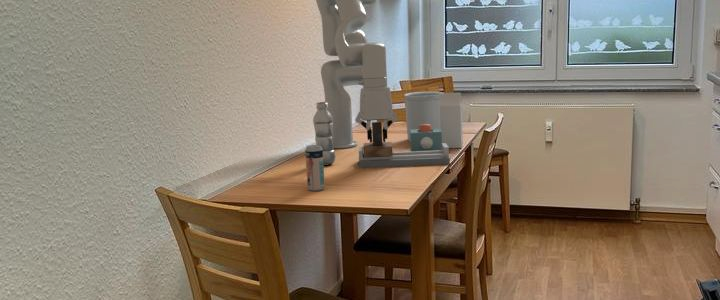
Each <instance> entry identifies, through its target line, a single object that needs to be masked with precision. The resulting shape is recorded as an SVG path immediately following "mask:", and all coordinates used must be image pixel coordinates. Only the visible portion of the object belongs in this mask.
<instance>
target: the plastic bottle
mask: <svg viewBox="0 0 720 300" xmlns="http://www.w3.org/2000/svg"><path fill="white" fill-rule="evenodd" d="M327 108H328V102H325V101H323V102H322V101H321V102H316V109H317V110H316V112H315V114H314V115H313V119H312V123H313V128H314V133H315V136H316V141H315V145H321V147H322V149H323V165H324V166H329V165H331V164H334V162H335V161H336V152H335V148H333V141H332V127H333V117H332V115H331V114H330V112H329V111H328V109H327Z"/></svg>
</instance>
